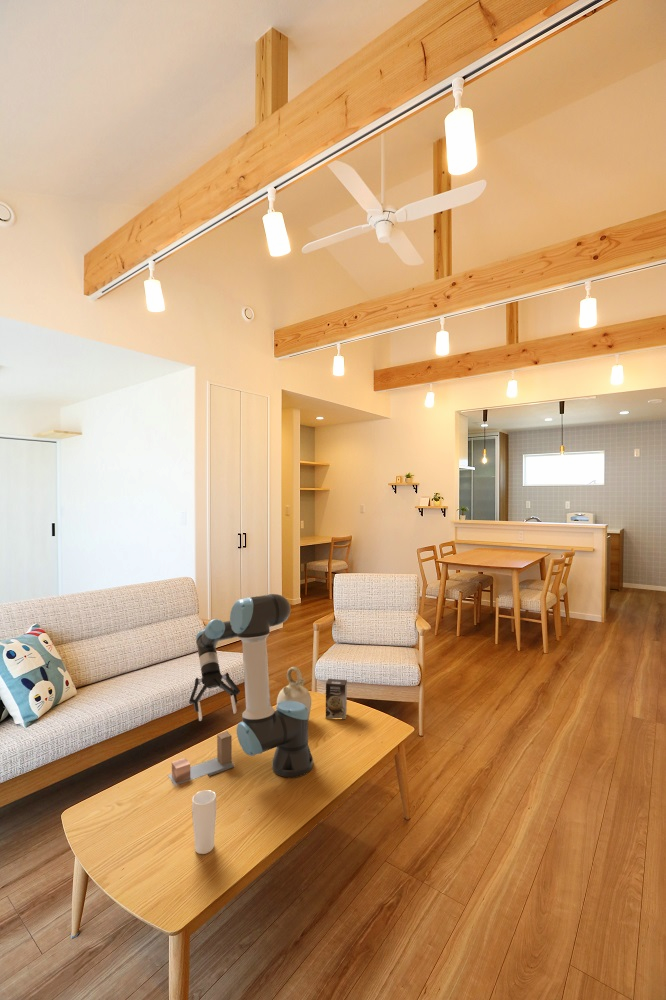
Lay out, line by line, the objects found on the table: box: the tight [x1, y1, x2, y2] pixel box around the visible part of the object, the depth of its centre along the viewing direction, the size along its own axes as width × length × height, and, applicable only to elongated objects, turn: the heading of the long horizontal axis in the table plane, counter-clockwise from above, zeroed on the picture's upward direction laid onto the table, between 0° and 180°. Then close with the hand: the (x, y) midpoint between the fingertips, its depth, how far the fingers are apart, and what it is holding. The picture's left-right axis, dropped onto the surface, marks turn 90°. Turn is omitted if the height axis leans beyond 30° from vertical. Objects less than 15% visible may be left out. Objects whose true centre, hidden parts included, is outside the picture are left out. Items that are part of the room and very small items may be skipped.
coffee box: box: [325, 678, 348, 720], centre depth 217 cm, size 9×6×16 cm
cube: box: [171, 757, 191, 783], centre depth 170 cm, size 5×5×5 cm
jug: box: [276, 666, 312, 721], centre depth 211 cm, size 15×16×25 cm
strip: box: [167, 730, 235, 787], centre depth 174 cm, size 8×22×11 cm, turn 126°
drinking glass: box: [191, 789, 217, 855], centre depth 137 cm, size 7×7×15 cm
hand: (218, 715), depth 188 cm, fingers open, 13 cm apart
